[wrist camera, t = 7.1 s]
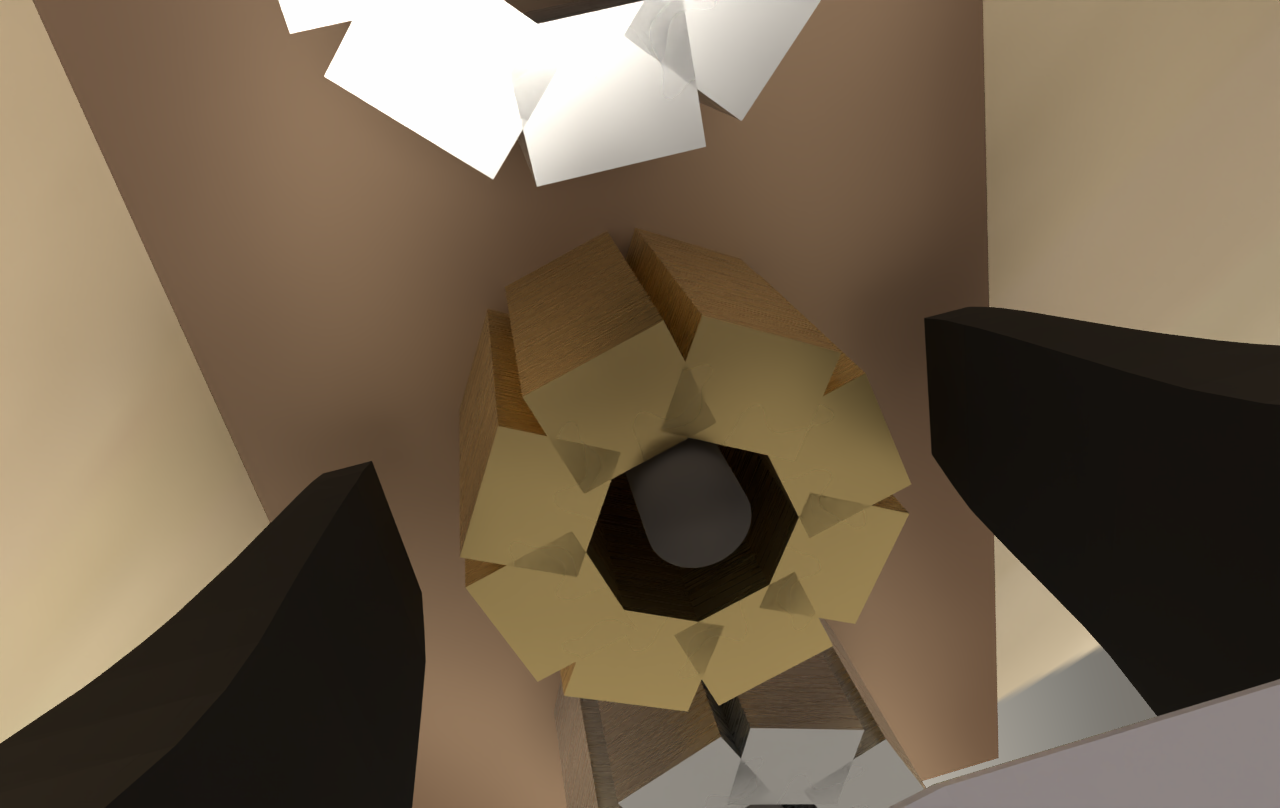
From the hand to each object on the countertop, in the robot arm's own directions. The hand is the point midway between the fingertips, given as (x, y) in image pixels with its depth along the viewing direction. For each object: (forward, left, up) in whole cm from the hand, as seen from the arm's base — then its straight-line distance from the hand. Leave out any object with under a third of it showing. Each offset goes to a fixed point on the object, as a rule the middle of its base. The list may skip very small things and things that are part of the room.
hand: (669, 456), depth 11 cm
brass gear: (0, 0, -3) cm, 3 cm away
